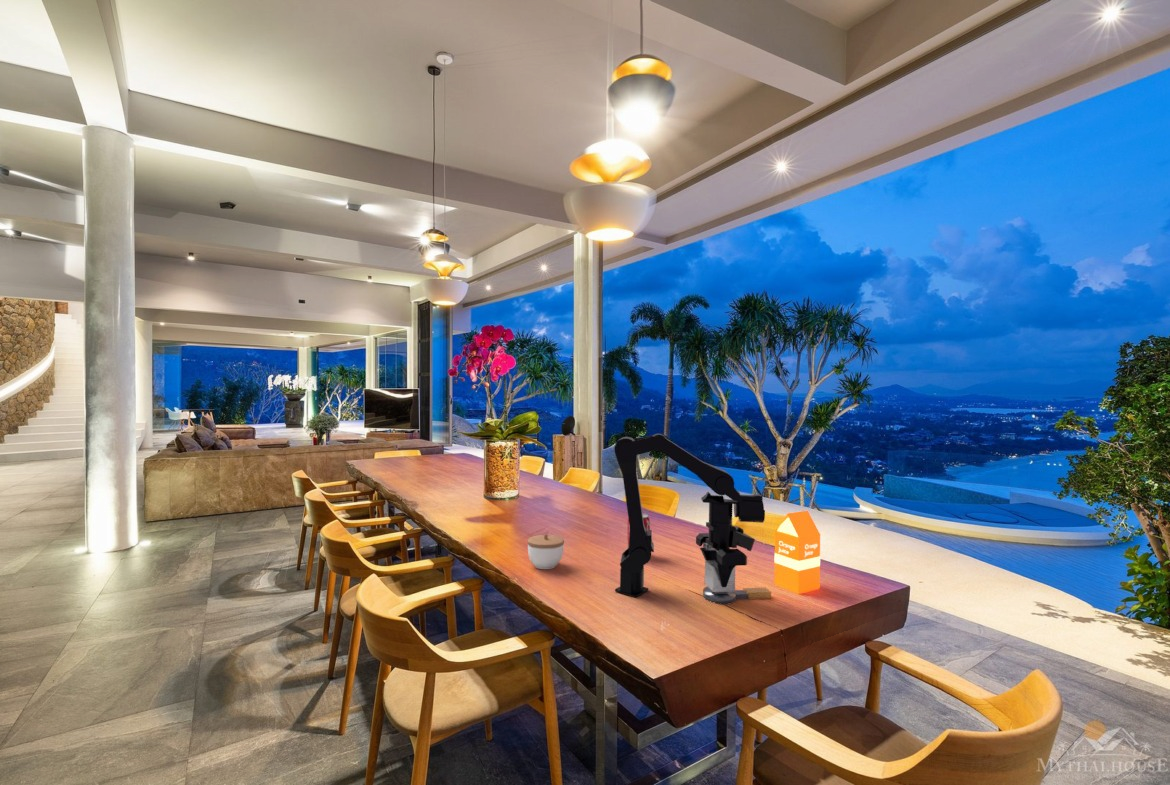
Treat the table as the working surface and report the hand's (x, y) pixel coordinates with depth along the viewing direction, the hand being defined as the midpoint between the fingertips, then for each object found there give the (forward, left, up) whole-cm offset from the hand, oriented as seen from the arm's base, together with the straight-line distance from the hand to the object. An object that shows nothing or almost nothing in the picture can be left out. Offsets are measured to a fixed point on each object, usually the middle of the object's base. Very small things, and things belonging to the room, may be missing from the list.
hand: (719, 582), depth 126 cm
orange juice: (+21, -13, -4) cm, 25 cm away
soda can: (+15, +33, -4) cm, 36 cm away
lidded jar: (-11, +49, -4) cm, 50 cm away
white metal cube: (0, 0, -1) cm, 1 cm away
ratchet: (+3, -3, -4) cm, 6 cm away
